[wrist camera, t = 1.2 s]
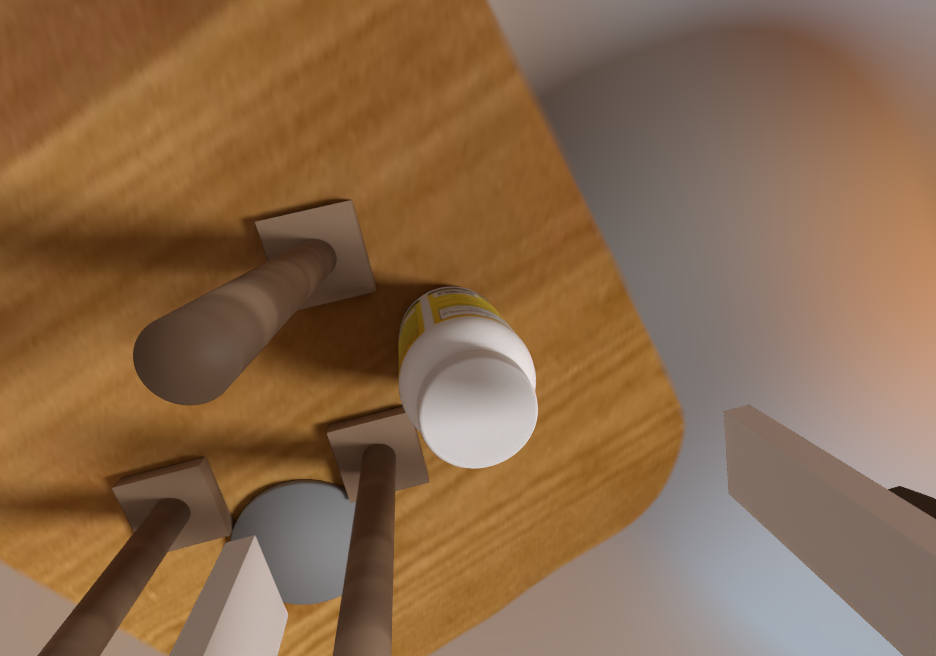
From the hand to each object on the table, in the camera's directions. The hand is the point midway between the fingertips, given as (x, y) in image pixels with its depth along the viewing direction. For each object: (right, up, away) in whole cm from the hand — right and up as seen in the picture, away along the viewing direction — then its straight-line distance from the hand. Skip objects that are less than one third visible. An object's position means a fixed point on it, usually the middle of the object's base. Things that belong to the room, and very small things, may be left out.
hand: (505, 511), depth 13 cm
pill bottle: (-2, +5, +16) cm, 17 cm away
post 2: (-9, +9, +14) cm, 19 cm away
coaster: (-11, -9, +18) cm, 23 cm away
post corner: (-7, -3, +17) cm, 19 cm away
